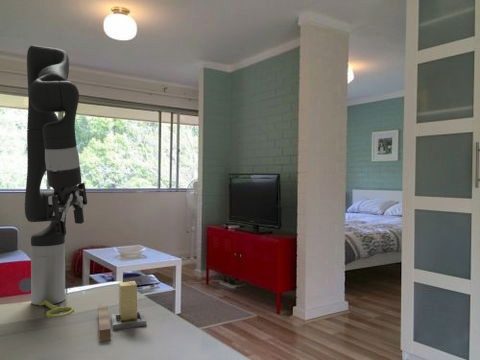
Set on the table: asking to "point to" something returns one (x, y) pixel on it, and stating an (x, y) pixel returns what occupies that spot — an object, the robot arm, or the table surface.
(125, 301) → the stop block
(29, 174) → the robot arm
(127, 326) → the keeper
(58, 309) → the key
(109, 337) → the brown square bar
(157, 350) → the table surface
